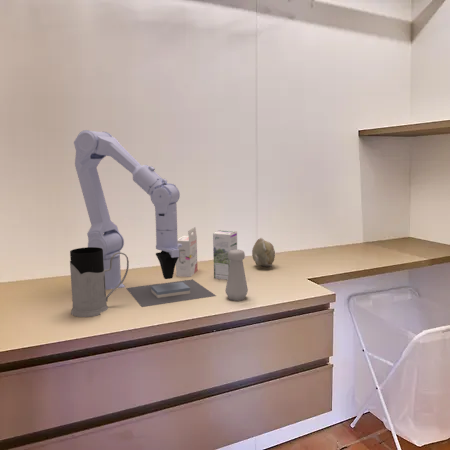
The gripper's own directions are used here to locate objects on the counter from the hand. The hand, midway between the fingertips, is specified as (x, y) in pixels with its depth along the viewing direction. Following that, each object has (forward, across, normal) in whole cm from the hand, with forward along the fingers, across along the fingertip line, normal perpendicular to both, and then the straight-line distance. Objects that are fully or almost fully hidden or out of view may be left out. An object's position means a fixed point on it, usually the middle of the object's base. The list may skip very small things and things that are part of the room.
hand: (168, 278), depth 122 cm
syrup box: (+4, +6, -20) cm, 21 cm away
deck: (+3, +1, 0) cm, 3 cm away
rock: (+4, +13, -37) cm, 39 cm away
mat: (+4, -1, 0) cm, 4 cm away
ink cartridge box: (+4, +16, -11) cm, 20 cm away
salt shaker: (+4, -14, -14) cm, 20 cm away
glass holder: (+4, -6, +19) cm, 20 cm away
